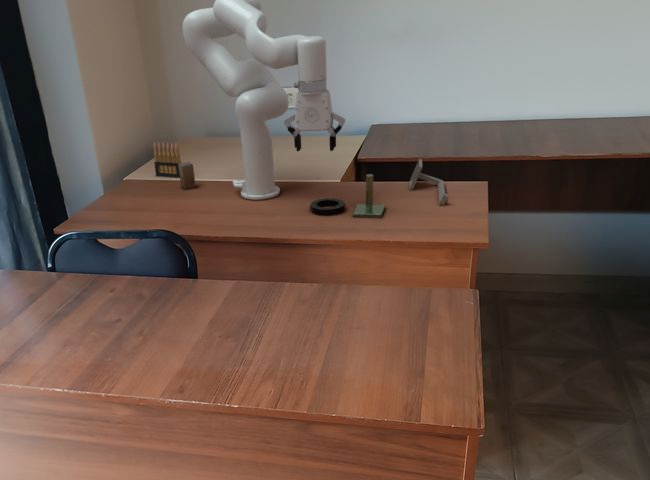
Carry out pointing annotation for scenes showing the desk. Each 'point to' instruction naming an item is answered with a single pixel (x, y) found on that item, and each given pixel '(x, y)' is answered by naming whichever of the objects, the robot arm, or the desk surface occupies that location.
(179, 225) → the desk surface
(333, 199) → the black ring
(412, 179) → the toilet paper hanger
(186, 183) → the wooden block
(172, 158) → the ammunition clip
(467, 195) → the desk surface
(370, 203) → the post
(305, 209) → the desk surface
